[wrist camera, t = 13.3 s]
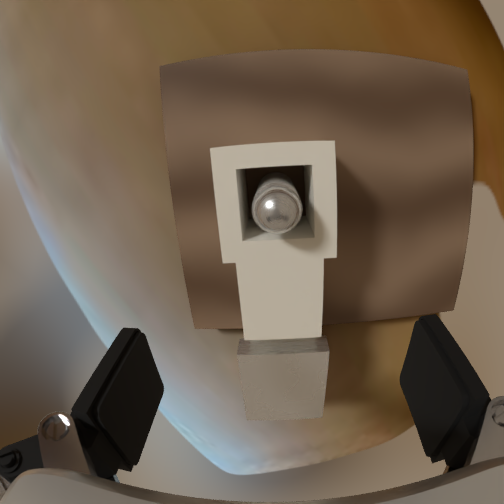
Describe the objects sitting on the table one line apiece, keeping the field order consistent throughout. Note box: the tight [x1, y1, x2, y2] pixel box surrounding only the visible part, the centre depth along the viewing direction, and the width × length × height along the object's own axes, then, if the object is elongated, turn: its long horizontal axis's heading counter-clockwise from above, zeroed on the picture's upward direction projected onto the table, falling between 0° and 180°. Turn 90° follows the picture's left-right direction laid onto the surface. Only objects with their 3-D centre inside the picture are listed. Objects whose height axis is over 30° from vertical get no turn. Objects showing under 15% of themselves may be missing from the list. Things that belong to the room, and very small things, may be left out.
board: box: [160, 49, 473, 329], centre depth 17 cm, size 17×19×2 cm
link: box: [210, 141, 337, 340], centre depth 16 cm, size 13×5×4 cm, turn 4°
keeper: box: [237, 335, 330, 420], centre depth 19 cm, size 6×5×6 cm
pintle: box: [252, 172, 302, 234], centre depth 14 cm, size 2×2×6 cm
